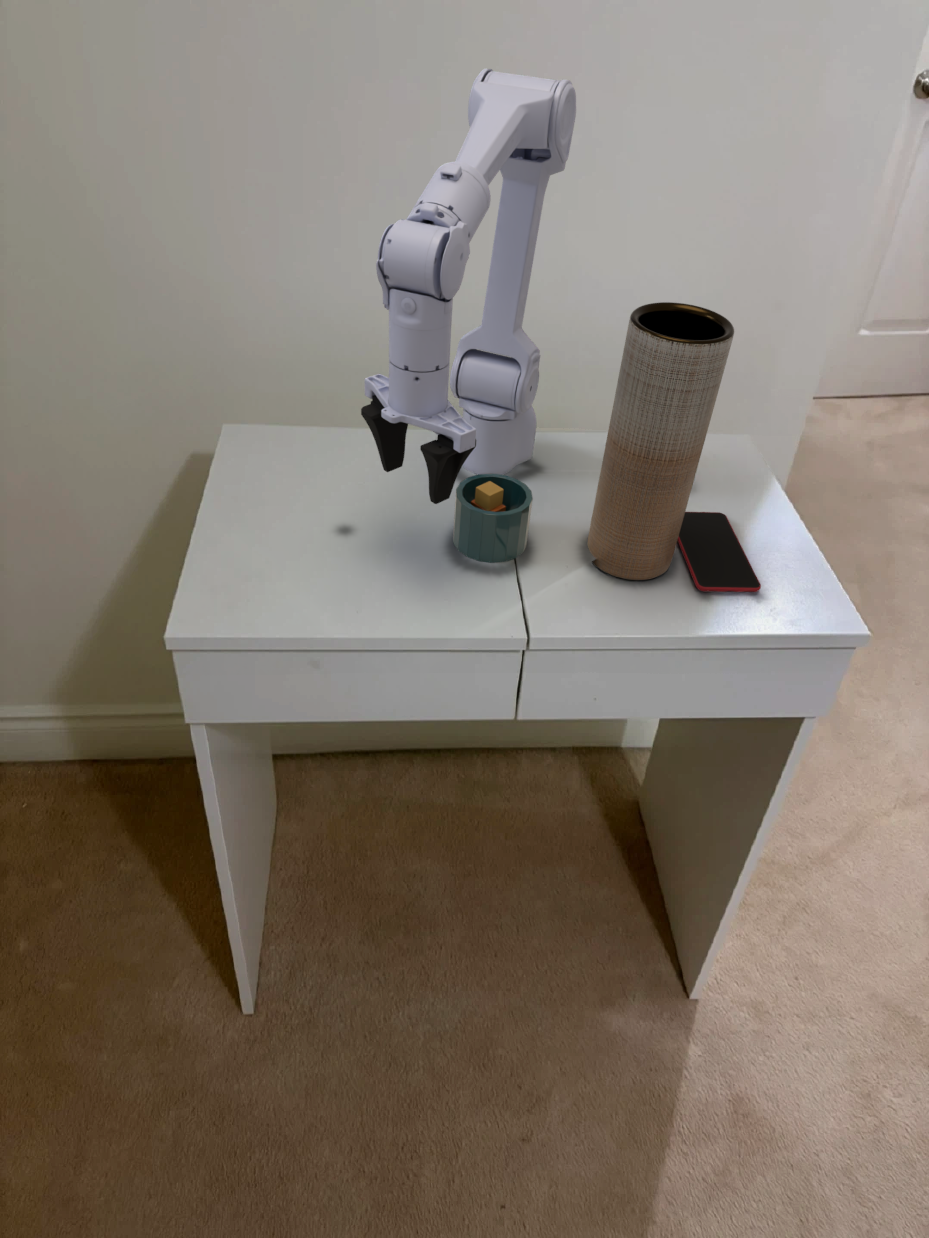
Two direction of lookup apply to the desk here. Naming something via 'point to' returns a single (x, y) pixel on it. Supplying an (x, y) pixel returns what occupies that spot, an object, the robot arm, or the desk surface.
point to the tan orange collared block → (489, 497)
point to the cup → (492, 520)
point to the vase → (656, 435)
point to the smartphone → (715, 554)
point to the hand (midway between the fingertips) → (416, 483)
